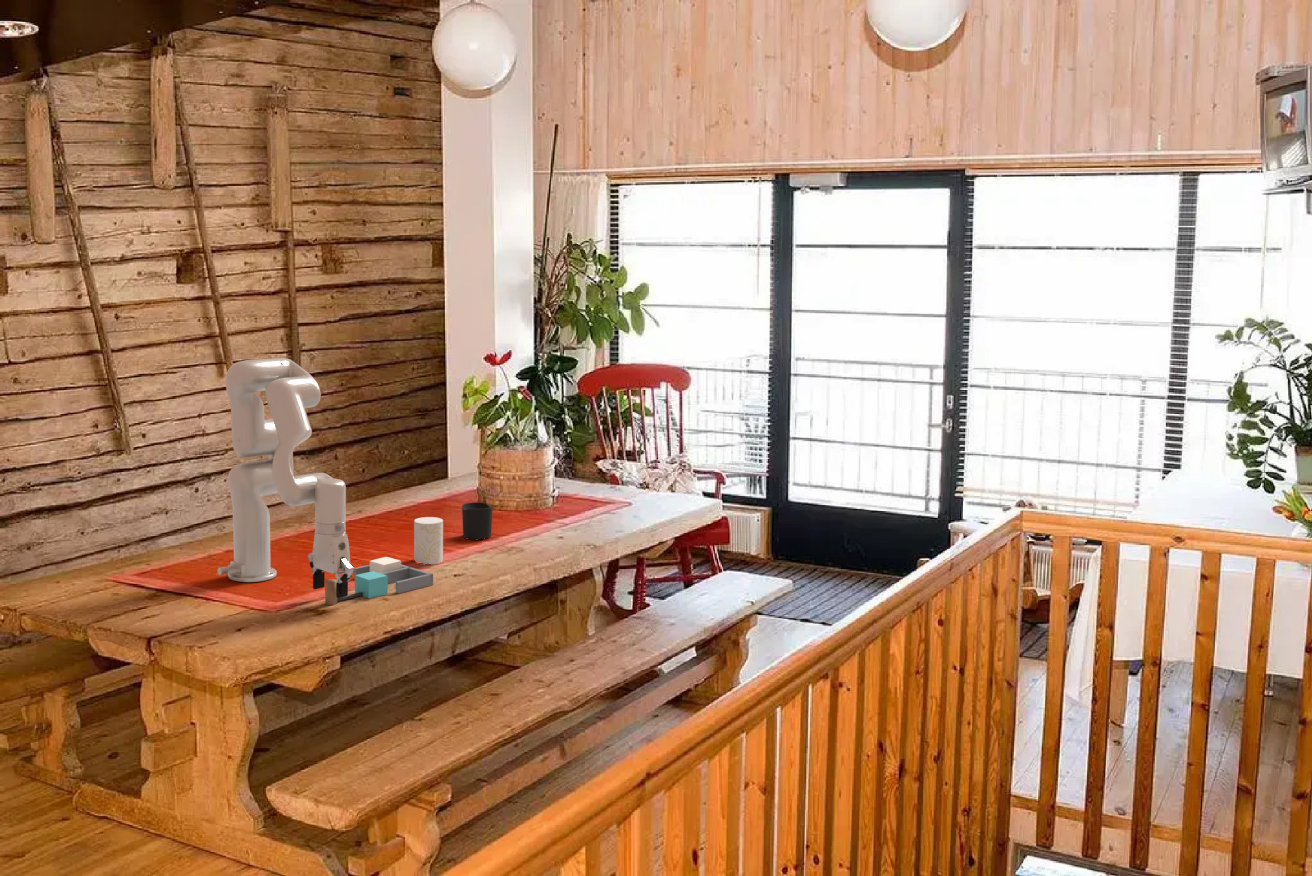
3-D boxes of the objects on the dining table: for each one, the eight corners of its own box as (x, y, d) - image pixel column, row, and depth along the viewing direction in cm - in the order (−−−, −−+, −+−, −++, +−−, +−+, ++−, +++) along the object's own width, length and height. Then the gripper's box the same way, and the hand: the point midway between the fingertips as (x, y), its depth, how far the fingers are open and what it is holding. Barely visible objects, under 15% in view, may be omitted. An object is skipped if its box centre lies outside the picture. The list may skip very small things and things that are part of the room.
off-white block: (384, 582, 353) (384, 564, 352) (369, 578, 357) (369, 560, 356) (401, 578, 358) (401, 560, 357) (386, 574, 362) (386, 556, 361)
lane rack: (398, 593, 343) (398, 582, 343) (353, 578, 355) (353, 568, 355) (433, 584, 353) (433, 574, 352) (388, 570, 364) (388, 560, 364)
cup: (419, 565, 371) (419, 524, 369) (410, 558, 378) (410, 518, 376) (446, 562, 374) (446, 522, 372) (437, 555, 382) (437, 516, 379)
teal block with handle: (333, 606, 330) (333, 584, 329) (319, 601, 334) (319, 579, 333) (387, 594, 343) (387, 571, 342) (373, 589, 347) (373, 567, 346)
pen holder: (496, 534, 409) (496, 503, 407) (487, 541, 400) (487, 510, 398) (467, 532, 410) (467, 501, 409) (457, 539, 401) (458, 507, 400)
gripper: (363, 531, 327) (363, 597, 330) (322, 518, 338) (321, 582, 341) (339, 536, 322) (338, 603, 325) (297, 523, 332) (297, 587, 336)
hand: (330, 592), depth 333 cm, fingers open, 9 cm apart
